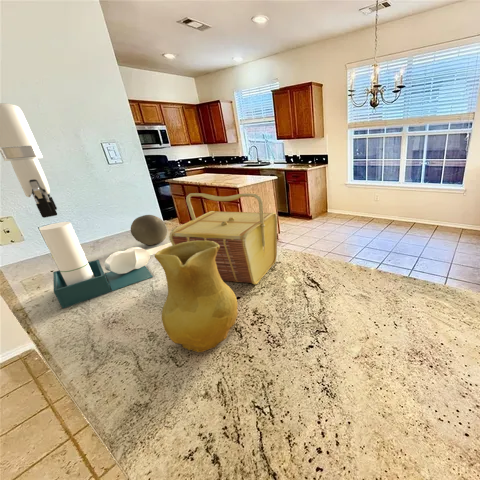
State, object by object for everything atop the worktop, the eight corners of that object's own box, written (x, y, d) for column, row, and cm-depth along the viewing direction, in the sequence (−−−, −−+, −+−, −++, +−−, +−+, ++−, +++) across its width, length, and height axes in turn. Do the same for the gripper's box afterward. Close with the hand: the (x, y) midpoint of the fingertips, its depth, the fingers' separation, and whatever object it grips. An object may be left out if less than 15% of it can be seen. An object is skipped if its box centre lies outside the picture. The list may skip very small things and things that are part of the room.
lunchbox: (63, 310, 82) (53, 291, 80) (62, 288, 94) (53, 271, 92) (153, 278, 98) (147, 261, 96) (142, 263, 110) (137, 248, 107)
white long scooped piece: (199, 247, 129) (193, 246, 130) (197, 232, 126) (191, 231, 128) (113, 278, 96) (107, 276, 97) (108, 257, 93) (102, 255, 95)
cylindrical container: (97, 286, 95) (68, 220, 85) (102, 292, 91) (72, 224, 81) (71, 295, 90) (37, 227, 80) (76, 302, 86) (40, 231, 76)
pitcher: (152, 360, 61) (124, 263, 53) (198, 312, 79) (182, 233, 70) (221, 367, 59) (203, 267, 50) (252, 317, 76) (243, 235, 68)
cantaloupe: (144, 241, 134) (135, 212, 128) (174, 238, 136) (166, 210, 130) (131, 252, 121) (120, 222, 115) (164, 249, 123) (155, 218, 118)
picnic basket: (180, 286, 92) (155, 202, 80) (222, 254, 115) (207, 185, 103) (256, 294, 85) (241, 204, 73) (284, 258, 108) (276, 185, 96)
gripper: (5, 154, 76) (34, 211, 83) (-3, 156, 64) (31, 222, 71) (41, 151, 81) (65, 205, 87) (39, 153, 69) (67, 215, 76)
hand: (50, 213), depth 79 cm, fingers open, 9 cm apart
